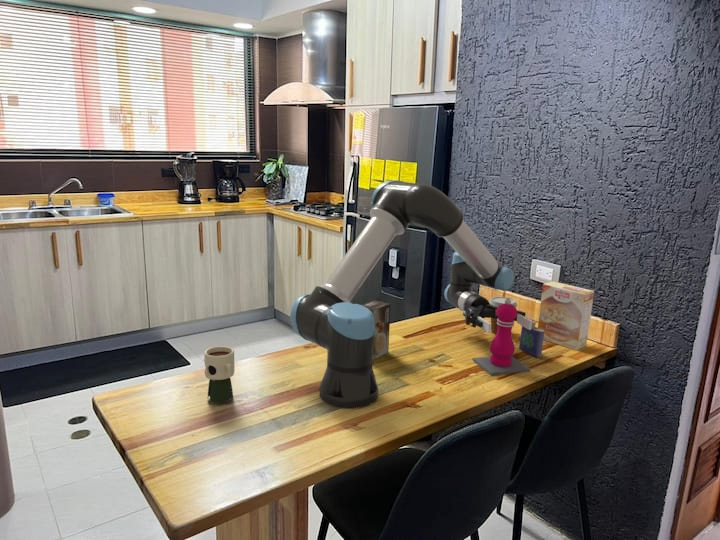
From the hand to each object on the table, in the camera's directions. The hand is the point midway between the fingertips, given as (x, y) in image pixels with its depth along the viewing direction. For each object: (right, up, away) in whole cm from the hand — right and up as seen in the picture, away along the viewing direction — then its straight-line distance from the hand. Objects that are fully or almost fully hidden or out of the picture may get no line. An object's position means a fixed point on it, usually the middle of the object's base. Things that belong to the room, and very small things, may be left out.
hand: (510, 326), depth 159 cm
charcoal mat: (-1, -12, +6) cm, 14 cm away
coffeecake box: (+25, -8, +28) cm, 38 cm away
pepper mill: (-1, -12, +6) cm, 13 cm away
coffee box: (-40, -10, +11) cm, 43 cm away
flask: (+11, -10, +17) cm, 23 cm away
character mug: (-79, -16, -22) cm, 83 cm away
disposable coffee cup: (+6, -6, +35) cm, 36 cm away
